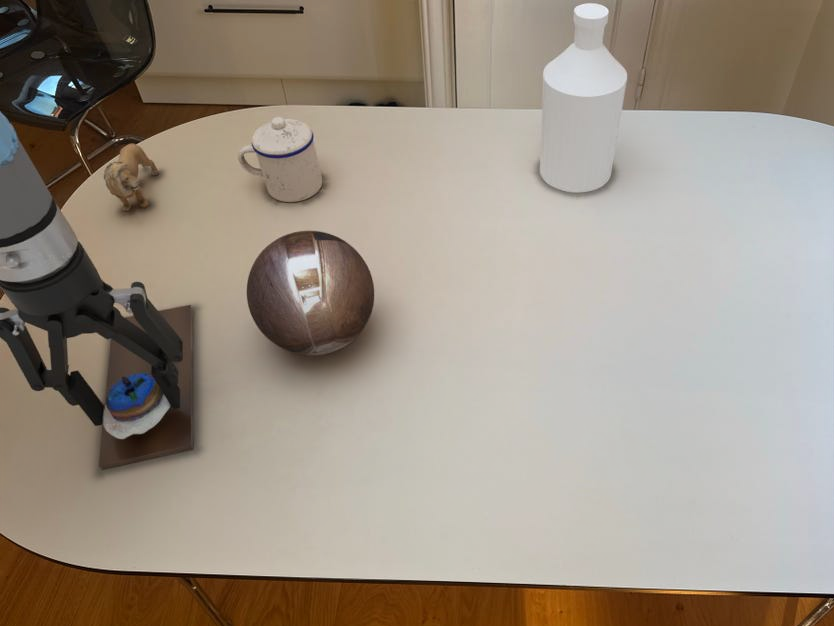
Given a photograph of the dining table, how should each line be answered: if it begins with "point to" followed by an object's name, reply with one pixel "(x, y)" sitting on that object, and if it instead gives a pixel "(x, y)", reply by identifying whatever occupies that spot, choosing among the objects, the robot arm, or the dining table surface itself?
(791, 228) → the dining table surface
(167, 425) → the walnut board
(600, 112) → the bottle
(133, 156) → the lion figurine
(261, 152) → the teacup with lid
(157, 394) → the dessert
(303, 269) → the wooden sphere
